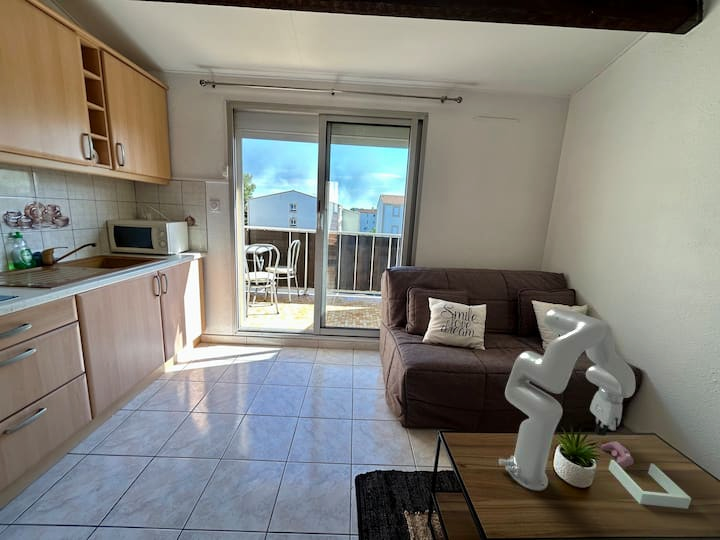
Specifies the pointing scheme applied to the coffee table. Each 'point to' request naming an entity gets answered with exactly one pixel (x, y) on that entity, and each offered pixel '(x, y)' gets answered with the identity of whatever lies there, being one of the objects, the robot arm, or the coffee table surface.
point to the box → (653, 498)
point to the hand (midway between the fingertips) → (599, 433)
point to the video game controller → (619, 453)
